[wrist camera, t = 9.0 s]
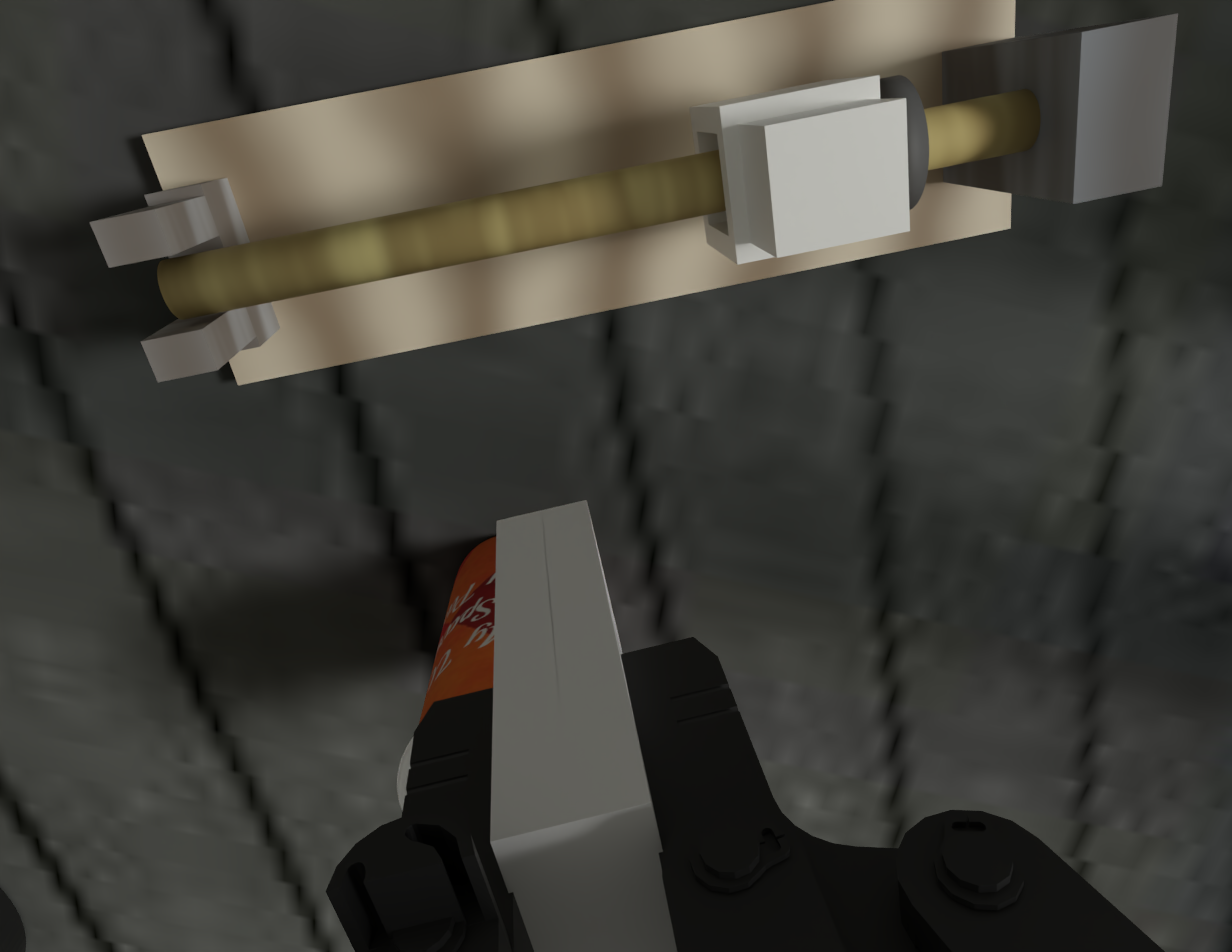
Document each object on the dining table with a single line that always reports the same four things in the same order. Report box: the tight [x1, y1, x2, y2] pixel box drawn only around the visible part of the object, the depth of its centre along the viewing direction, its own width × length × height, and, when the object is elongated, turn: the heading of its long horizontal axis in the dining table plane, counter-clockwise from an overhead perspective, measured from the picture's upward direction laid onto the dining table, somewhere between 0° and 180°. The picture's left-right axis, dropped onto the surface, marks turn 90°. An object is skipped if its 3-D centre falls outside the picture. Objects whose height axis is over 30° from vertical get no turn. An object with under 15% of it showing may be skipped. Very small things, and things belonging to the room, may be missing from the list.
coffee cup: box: [397, 536, 496, 811], centre depth 35 cm, size 8×8×15 cm
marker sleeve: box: [689, 75, 910, 265], centre depth 27 cm, size 5×5×8 cm
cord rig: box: [90, 0, 1178, 385], centre depth 30 cm, size 34×10×10 cm, turn 100°
